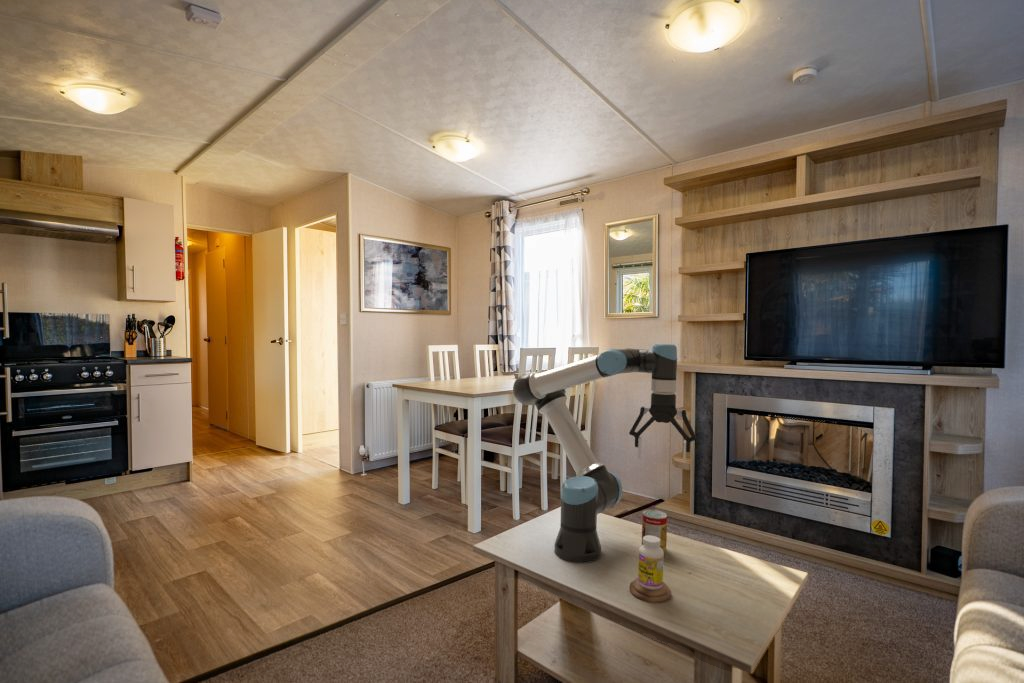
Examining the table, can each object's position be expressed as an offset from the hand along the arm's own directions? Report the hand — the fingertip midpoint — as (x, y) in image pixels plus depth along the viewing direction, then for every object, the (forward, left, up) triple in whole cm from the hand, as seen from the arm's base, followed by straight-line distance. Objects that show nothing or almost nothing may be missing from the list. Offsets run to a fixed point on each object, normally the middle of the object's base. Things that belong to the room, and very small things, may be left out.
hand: (661, 460), depth 158 cm
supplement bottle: (-1, -22, -30) cm, 37 cm away
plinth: (-1, -22, -32) cm, 39 cm away
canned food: (-2, +7, -32) cm, 33 cm away
